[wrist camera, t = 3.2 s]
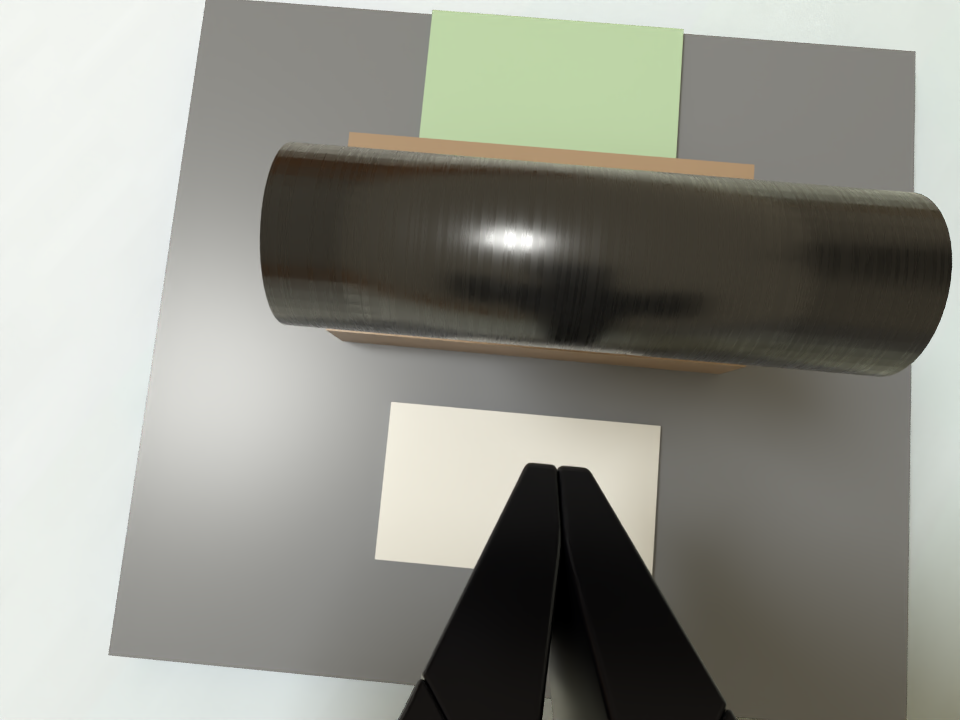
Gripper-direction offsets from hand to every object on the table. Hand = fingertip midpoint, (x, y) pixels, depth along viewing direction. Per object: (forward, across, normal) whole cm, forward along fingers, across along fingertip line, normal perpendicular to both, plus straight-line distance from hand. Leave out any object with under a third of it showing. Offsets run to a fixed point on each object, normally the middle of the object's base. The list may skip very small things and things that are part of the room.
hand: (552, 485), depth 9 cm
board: (+9, 0, +4) cm, 10 cm away
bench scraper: (+8, 0, +1) cm, 8 cm away
